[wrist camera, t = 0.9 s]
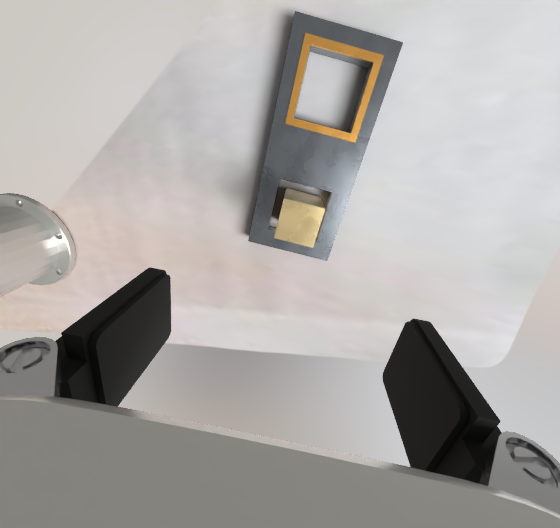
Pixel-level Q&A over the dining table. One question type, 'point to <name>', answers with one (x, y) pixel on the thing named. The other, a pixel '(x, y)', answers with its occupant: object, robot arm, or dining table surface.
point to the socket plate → (321, 128)
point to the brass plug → (300, 218)
